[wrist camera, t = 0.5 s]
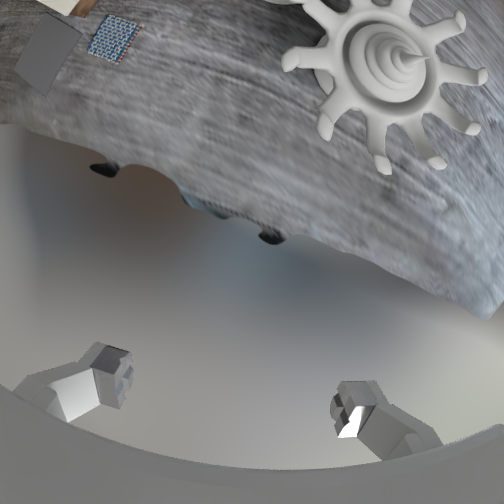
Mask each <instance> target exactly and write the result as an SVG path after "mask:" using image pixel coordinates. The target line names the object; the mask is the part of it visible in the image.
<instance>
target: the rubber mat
mask: <svg viewBox="0 0 504 504" xmlns="http://www.w3.org/2000/svg"><path fill="white" fill-rule="evenodd" d="M81 36H82V34H81V33H80V32H78V31H77V30H75V29H73V28H72V27H70V26H69V25H67V24H65V23H64V22H62V21H60V20H59V19H57V18H55V17H54V16H52V15H50V14H48V13H47V12H46V13H45V14H44V16H43V17H42V19H41V20H40V22H39V24H38V25H37V27H36V28H35V30H34V32H33V33H32V35H31V37H30V39H29V40H28V42H27V44H26V46H25V48H24V50H23V51H22V53H21V55H20V57H19V59H18V61H17V63H16V66H15V68H14V71H15V72H16V73H17V74H18V75H20V76H21V77H22V78H23V79H24V80H25V81H27V82H28V83H29V84H30V85H31V86H32V87H34V88H35V89H36V90H37V91H38V92H39V93H41V94H42V95H43V96H44V97H46V95H47V93H48V91H49V89H50V87H51V85H52V83H53V81H54V79H55V78H56V76H57V74H58V72H59V71H60V69H61V67H62V65H63V64H64V62H65V60H66V59H67V57H68V55H69V54H70V52H71V51H72V49H73V48H74V46H75V45H76V43H77V42H78V40H79V39H80V37H81Z"/></svg>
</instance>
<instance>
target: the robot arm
mask: <svg viewBox="0 0 504 504" xmlns="http://www.w3.org/2000/svg"><path fill="white" fill-rule="evenodd" d="M265 1H267V2H270V3H275V4H284V5H287V4H302V3H293V2H291V1H288V0H265ZM132 361H133V359H132V353H131V352H129V351H126V350H123V349H119V348H116V347H113V346H110V345H106V344H103V343H100V342H95V343H94V344H93V345H92V346H91V347H90V349H89V350H88V351H87V352H86V353H85V354H84V355H83V357H82V358H81V359H80V360H79V362H78V363H77V362H71V363H68V364H65V365H62V366H58V367H56V368H52V369H48V370H45V371H42V372H38V373H35V374H31V375H28V376H27V377H26V378H25V379H24V380H23V381H22V382H21V383H20V384H19V385H18V386H17V387H16V389H14V390H13V391H10V390H8V389H7V388H5V387H4V386H2V385H1V384H0V504H504V425H502V424H496V425H494V426H491V427H489V428H487V429H485V430H482V431H480V432H478V433H475V434H473V435H471V436H468V437H466V438H463V439H460V440H458V441H455V442H452V443H449V444H446V445H443V444H442V442H441V440H440V439H439V437H438V436H437V434H436V432H435V431H434V429H433V428H432V427H430V426H428V425H427V424H425V423H423V422H422V421H420V420H418V419H416V418H415V417H413V416H411V415H409V414H408V413H406V412H405V411H403V410H401V409H400V408H398V407H396V406H395V405H393V404H389V402H388V401H387V399H386V397H385V396H384V394H383V392H382V390H381V389H380V387H379V385H378V384H377V382H376V381H374V380H370V381H341V382H340V384H339V385H338V388H337V390H338V393H337V394H336V395H335V396H334V397H333V399H332V401H331V405H330V414H331V417H332V418H333V419H334V420H335V421H336V423H335V425H334V426H335V429H336V432H337V436H338V437H351V436H357V438H358V439H359V440H360V441H361V442H363V443H364V444H365V445H366V446H367V447H368V448H369V449H370V450H371V451H372V452H373V453H374V454H375V455H377V456H378V457H379V458H380V459H381V460H382V461H380V462H374V463H368V464H362V465H354V466H346V467H337V468H324V469H306V470H270V469H250V468H237V467H228V466H220V465H212V464H206V463H199V462H193V461H188V460H183V459H178V458H174V457H169V456H164V455H160V454H157V453H153V452H149V451H145V450H141V449H138V448H134V447H131V446H128V445H125V444H122V443H119V442H116V441H113V440H110V439H107V438H105V437H102V436H99V435H97V434H94V433H91V432H89V431H87V430H84V429H82V428H80V427H77V426H75V425H73V424H70V423H68V422H70V421H71V420H73V419H75V418H77V417H79V416H80V415H82V414H84V413H85V412H87V411H89V410H91V409H93V408H94V407H96V406H98V405H100V403H101V404H104V405H107V406H110V407H113V408H117V409H120V408H121V406H122V404H123V402H124V400H125V393H126V392H128V391H130V389H131V386H132V383H133V377H134V371H133V368H132V367H131V366H130V364H131V363H132Z"/></svg>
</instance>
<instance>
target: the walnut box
mask: <svg viewBox="0 0 504 504" xmlns="http://www.w3.org/2000/svg"><path fill="white" fill-rule="evenodd" d="M97 1H98V0H79V1H78V3H77V4H76V5H75V7H74V8H73V9H72V11H71V12H70V13H69V14H71V15H75V16H79V17H83V18H85V17H86V15H87V14H88V13H89V11H90V10H91V9H92V8H93V6H94V5H95V4H96V3H97Z"/></svg>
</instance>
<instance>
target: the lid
mask: <svg viewBox="0 0 504 504" xmlns="http://www.w3.org/2000/svg"><path fill="white" fill-rule="evenodd" d="M37 1H39V2H41V3H43V4H45V5H47V6H49V7H50V8H52V9H54V10H56V11H58V12H60V13H61V14H63V15H65V16H68V15H69V13H70V12H71V11H72V9H73V8H74V7H75V5H76V4H77V3H78V1H79V0H37Z"/></svg>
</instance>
